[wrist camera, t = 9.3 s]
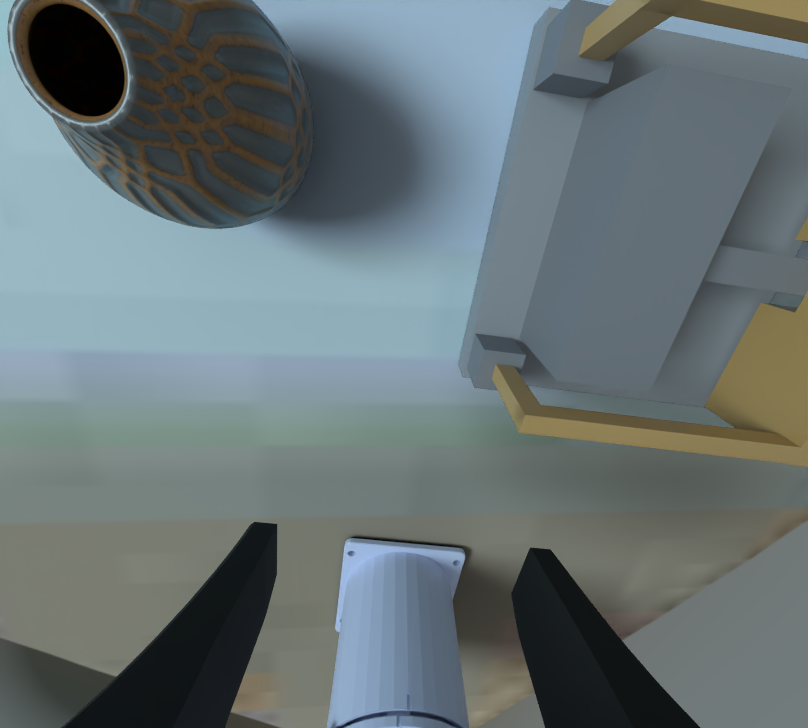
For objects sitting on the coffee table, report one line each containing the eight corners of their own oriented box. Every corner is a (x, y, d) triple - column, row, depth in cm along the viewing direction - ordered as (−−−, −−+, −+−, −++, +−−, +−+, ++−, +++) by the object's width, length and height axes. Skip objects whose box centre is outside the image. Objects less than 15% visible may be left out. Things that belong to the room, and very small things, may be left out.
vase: (147, 0, 14) (-213, -281, 6) (337, 47, 14) (260, -143, 6) (160, 203, 16) (-69, 211, 8) (318, 236, 17) (248, 272, 9)
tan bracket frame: (925, 92, 12) (1152, 47, 8) (737, 410, 17) (830, 469, 13) (586, 25, 11) (676, -57, 8) (491, 379, 16) (518, 434, 12)
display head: (849, 87, 15) (1111, 25, 9) (690, 394, 21) (795, 466, 15) (534, 25, 14) (621, -84, 8) (458, 364, 20) (481, 429, 14)
